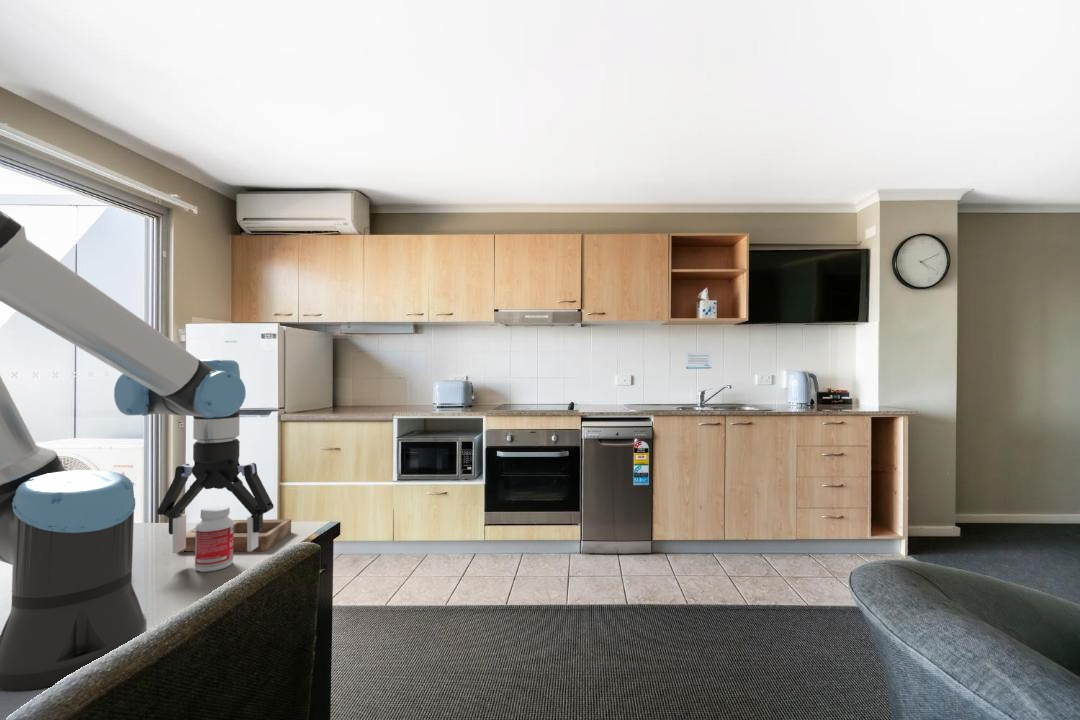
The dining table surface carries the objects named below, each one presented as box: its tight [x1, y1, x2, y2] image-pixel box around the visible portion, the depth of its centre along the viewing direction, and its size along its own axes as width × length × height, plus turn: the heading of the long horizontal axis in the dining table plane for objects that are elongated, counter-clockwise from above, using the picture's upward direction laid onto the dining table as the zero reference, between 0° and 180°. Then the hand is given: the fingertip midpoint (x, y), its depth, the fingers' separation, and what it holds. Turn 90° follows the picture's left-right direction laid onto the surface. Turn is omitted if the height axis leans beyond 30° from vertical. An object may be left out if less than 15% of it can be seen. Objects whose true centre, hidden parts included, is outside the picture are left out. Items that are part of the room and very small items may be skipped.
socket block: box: [179, 518, 292, 553], centre depth 110 cm, size 12×18×3 cm, turn 94°
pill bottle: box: [194, 505, 234, 573], centre depth 96 cm, size 6×6×11 cm
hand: (216, 550), depth 96 cm, fingers open, 13 cm apart
